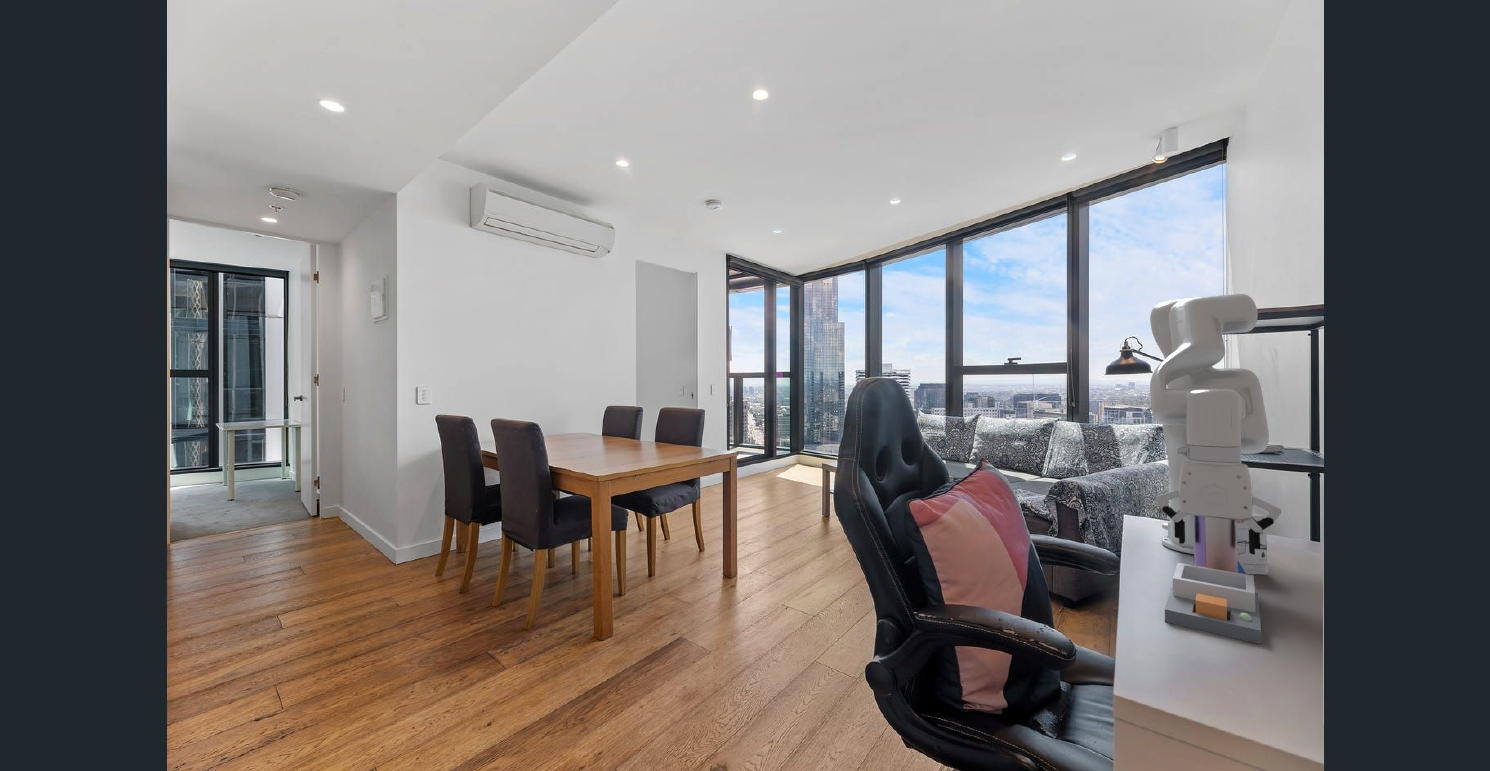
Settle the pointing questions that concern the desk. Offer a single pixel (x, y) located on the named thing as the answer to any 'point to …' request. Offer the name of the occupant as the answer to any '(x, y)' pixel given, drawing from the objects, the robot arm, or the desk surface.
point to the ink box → (1245, 559)
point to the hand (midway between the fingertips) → (1215, 547)
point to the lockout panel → (1222, 585)
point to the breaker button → (1211, 606)
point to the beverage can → (1215, 543)
